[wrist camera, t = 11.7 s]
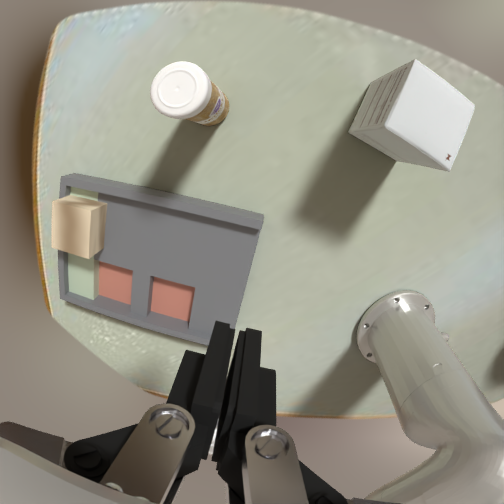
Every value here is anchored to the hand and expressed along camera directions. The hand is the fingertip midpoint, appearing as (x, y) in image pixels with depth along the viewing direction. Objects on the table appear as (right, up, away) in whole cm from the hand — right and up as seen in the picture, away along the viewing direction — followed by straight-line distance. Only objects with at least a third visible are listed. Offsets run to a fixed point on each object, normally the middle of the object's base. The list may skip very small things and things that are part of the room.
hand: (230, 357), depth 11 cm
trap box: (-13, +3, +28) cm, 31 cm away
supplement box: (+16, +19, +21) cm, 33 cm away
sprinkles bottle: (-4, +20, +22) cm, 30 cm away
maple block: (-21, +8, +25) cm, 33 cm away
